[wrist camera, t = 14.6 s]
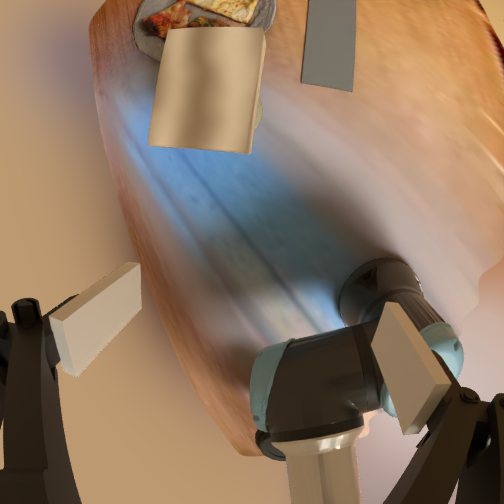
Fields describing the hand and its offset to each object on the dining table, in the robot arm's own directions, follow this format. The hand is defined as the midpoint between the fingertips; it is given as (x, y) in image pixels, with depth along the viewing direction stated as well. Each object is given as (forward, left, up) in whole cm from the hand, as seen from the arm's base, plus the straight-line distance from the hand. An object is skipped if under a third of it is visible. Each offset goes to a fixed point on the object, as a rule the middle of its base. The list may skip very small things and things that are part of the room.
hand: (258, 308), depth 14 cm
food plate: (+17, -34, -32) cm, 50 cm away
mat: (-5, -33, -32) cm, 46 cm away
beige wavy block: (+9, -15, -20) cm, 26 cm away
